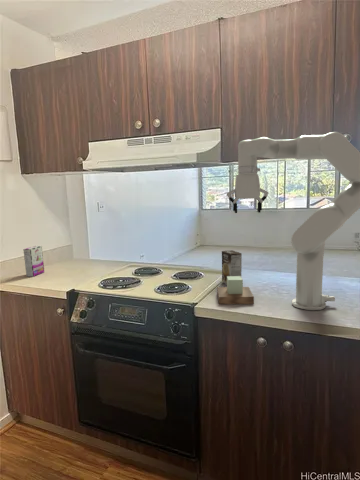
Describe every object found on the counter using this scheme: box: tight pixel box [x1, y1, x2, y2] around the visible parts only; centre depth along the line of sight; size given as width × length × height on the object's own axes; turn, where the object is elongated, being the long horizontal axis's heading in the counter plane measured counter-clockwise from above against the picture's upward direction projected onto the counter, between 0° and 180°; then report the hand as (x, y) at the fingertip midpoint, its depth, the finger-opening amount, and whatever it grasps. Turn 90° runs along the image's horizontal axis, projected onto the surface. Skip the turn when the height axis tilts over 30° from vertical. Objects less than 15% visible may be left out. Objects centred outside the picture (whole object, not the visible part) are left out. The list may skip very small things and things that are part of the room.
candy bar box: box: [23, 245, 45, 278], centre depth 193 cm, size 11×5×16 cm, turn 170°
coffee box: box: [221, 250, 243, 285], centre depth 161 cm, size 9×6×16 cm
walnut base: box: [216, 286, 255, 305], centre depth 140 cm, size 14×14×3 cm
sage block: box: [226, 275, 244, 294], centre depth 139 cm, size 6×6×6 cm
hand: (247, 212), depth 138 cm, fingers open, 9 cm apart
